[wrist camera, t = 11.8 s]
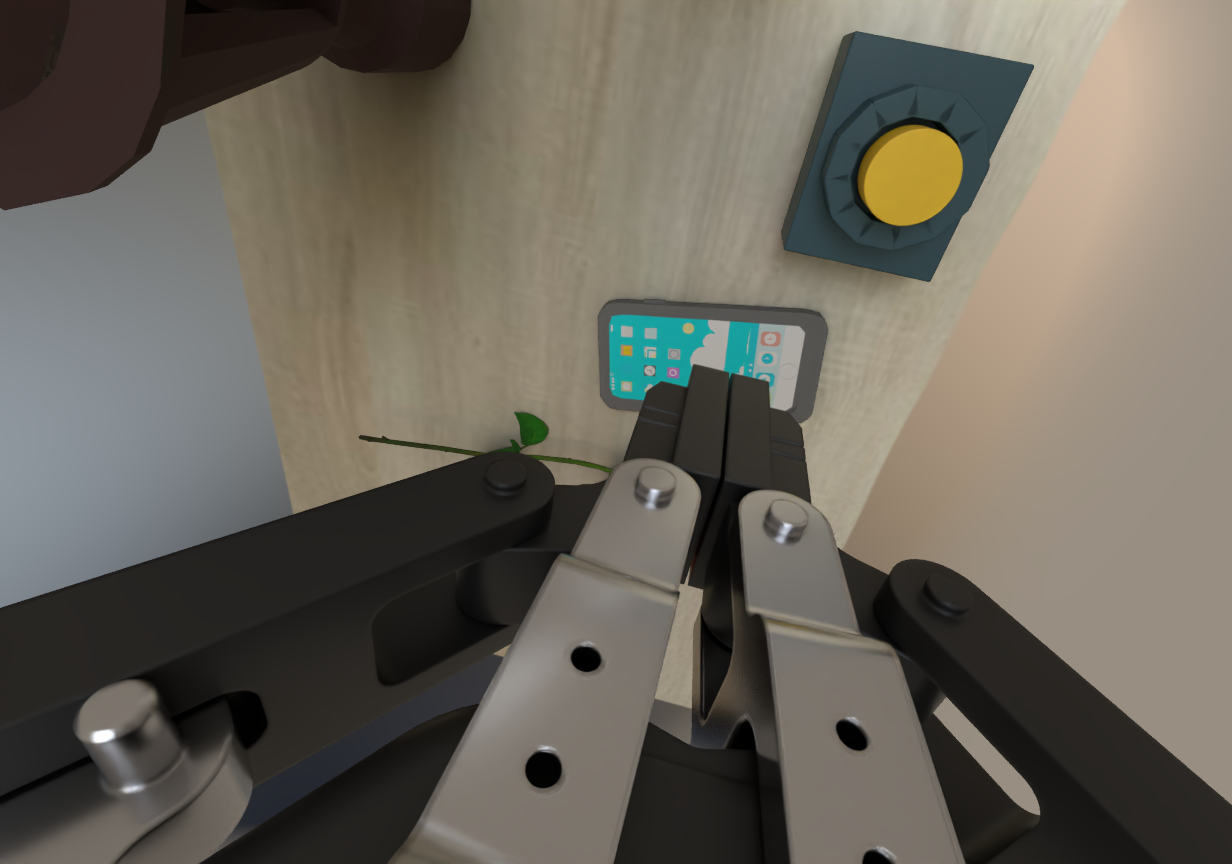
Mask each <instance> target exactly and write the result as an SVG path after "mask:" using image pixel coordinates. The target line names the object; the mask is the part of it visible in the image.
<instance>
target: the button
mask: <svg viewBox="0 0 1232 864" xmlns="http://www.w3.org/2000/svg"><path fill="white" fill-rule="evenodd" d="M962 172H963V161H962V156H961V152H960V150H959V148H958V146H957V144H956V143H955V142H954V141H953V140H952V139H951V138H950V137H949V136H948V135H946V134H945V133H943V132H941V131H938V130H935V129H932V128H929V127H926V126H922V125H906V126H901V127H898V128H895V129H893V130H891V131H889V132H887V133H885V134H884V135H882V136H881V137H880V138H879V139H877V140H876V141H875V142H874V143H873V144H872V145H871V147H870V148H869V149H868V151H867V152H866V154H865V155H864V157H863V159H862V161H861V164H860V167H859V171H858V178H857V184H858V190H859V194H860V196H861V198H862V200H863V202H864V203H865V204H866V206H867V207H868V208H869V209H870V211H871V212H872V213H873V214H874V215H875V216H876V217H877V218H878V219H880V220H881V221H883V222H885V223H888V224H891V225H897V226H908V225H914V224H918V223H921V222H923V221H925V220H928V219H930V218H931V217H933V216H934V215H936V214H937V213H938V212H940V211H941V210H942V209H943V208H944V207H945V206H946V205H947V204H948V203H949V202H950V201H951V199H952V198H953V196H954V195H955V193H956V191H957V189H958V187H959V184H960V181H961V178H962Z"/></svg>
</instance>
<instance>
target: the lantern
mask: <svg viewBox="0 0 1232 864" xmlns="http://www.w3.org/2000/svg"><path fill="white" fill-rule="evenodd" d="M470 4H471V0H0V208H1V209H3V210H8V209H13V208H18V207H22V206H27V205H32V204H37V203H42V202H47V201H51V200H56V199H61V198H66V197H71V196H75V195H80V194H85V193H89V192H92V191H94V190H97V189H100V188H102V187H105V186H108V185H109V184H110V183H111V182H113V181H114V180H115V179H116V178H118V177H119V176H120V175H121V174H123V173H124V172H125V171H127V170H128V169H129V168H130V167H131V166H133V165H134V164H135V163H137V162H138V161H139V160H140V159H142V158H143V157H144V156H145V155H147V154H148V153H149V152H150V151H151V150H152V148H153V145H154V143H155V140H156V138H157V136H158V133H159V131H160V128H161V126H163V125H165V124H168V123H170V122H173V121H175V120H178V119H180V118H182V117H185V116H187V115H190V114H192V113H195V112H197V111H199V110H202V109H205V108H207V107H209V106H212V105H214V104H217V103H219V102H222V101H224V100H226V99H229V98H231V97H234V96H236V95H239V94H241V93H244V92H246V91H248V90H251V89H253V88H256V87H258V86H261V85H263V84H266V83H268V82H270V81H273V80H275V79H278V78H280V77H283V76H285V75H287V74H290V73H292V72H295V71H297V70H300V69H302V68H304V67H306V66H308V65H310V64H311V63H312V62H314V61H315V60H316V59H318V58H319V57H320V56H323V57H325V58H326V59H328V60H329V61H331V62H333V63H334V64H336V65H338V66H339V67H341V68H345V69H349V70H354V71H358V72H362V73H386V72H418V71H424V70H430V69H434V68H436V67H437V66H439V65H440V64H442V63H443V62H445V61H446V60H448V59H449V58H450V57H451V56H452V54H453V53H454V52H455V50H456V49H457V47H458V46H459V44H460V43H461V41H462V40H463V37H464V34H465V31H466V27H467V24H468V21H469V17H470Z"/></svg>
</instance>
